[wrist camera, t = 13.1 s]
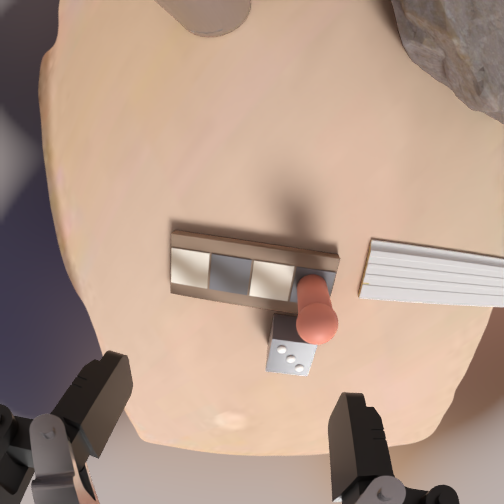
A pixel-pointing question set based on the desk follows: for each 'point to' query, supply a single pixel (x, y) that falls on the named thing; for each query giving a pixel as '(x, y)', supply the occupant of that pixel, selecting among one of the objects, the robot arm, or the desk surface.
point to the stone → (458, 47)
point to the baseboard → (431, 276)
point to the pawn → (315, 311)
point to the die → (288, 348)
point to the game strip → (244, 270)
